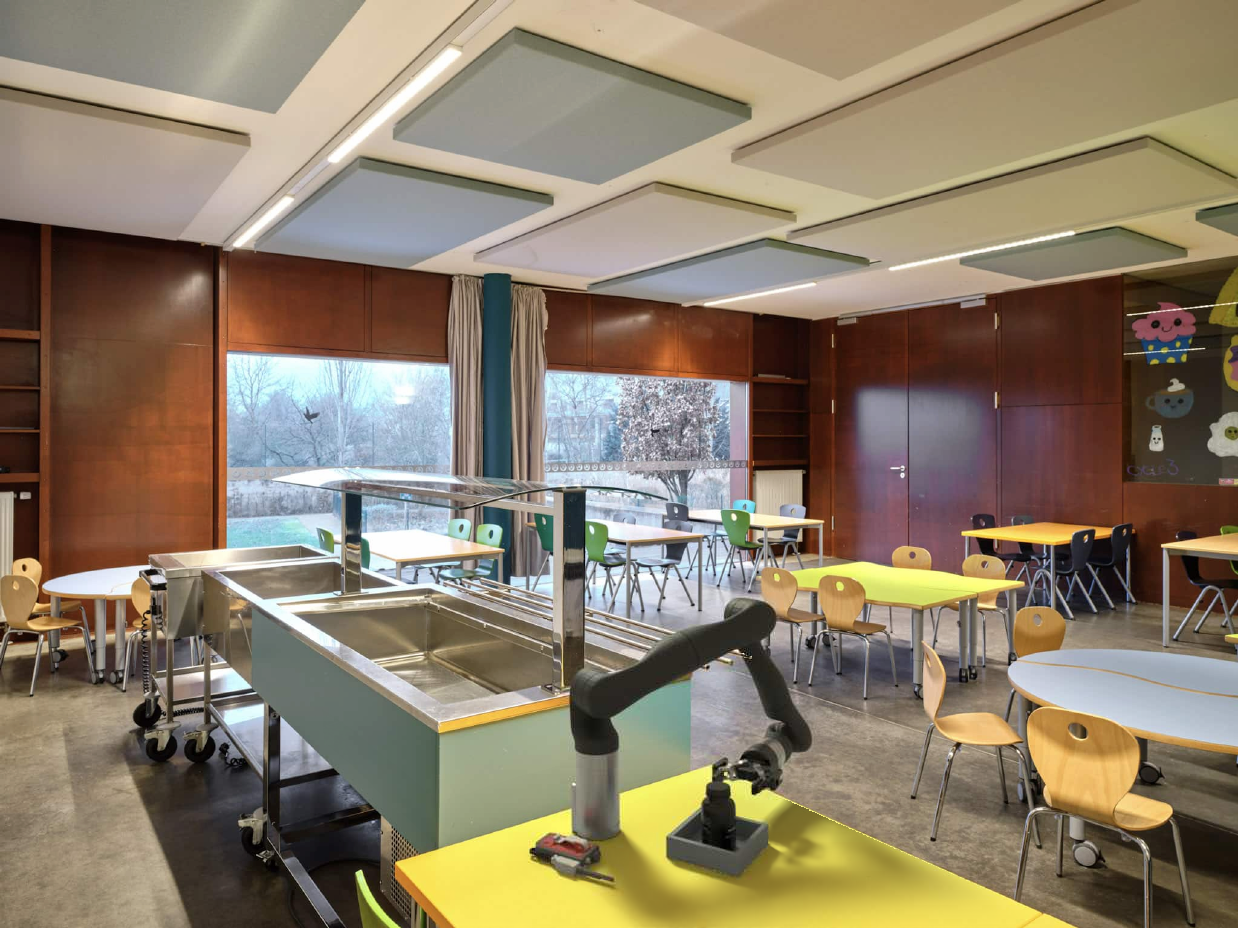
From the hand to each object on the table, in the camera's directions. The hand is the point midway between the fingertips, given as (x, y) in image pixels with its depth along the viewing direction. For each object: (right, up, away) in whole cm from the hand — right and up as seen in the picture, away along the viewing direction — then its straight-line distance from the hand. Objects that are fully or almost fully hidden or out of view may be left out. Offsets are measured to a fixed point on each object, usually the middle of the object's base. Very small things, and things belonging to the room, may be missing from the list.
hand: (733, 786), depth 162 cm
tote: (-4, -10, -6) cm, 13 cm away
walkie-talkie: (-31, -11, -11) cm, 35 cm away
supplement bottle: (-4, -10, -6) cm, 12 cm away
